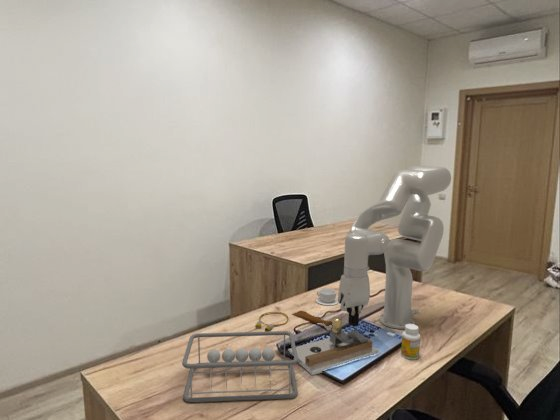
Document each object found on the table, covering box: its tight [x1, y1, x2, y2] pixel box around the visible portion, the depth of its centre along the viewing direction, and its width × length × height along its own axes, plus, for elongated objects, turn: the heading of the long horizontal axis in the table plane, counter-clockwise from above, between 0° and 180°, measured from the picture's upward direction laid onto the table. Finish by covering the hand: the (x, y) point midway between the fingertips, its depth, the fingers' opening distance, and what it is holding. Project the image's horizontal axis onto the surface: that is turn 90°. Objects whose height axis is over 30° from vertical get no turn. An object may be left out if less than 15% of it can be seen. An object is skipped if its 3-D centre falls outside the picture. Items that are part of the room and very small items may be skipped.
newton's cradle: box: [181, 330, 299, 403], centre depth 111 cm, size 30×10×18 cm
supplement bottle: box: [400, 323, 421, 360], centre depth 126 cm, size 5×5×10 cm
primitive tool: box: [291, 310, 333, 326], centre depth 151 cm, size 19×6×4 cm, turn 41°
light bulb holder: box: [329, 316, 353, 345], centre depth 127 cm, size 3×8×8 cm, turn 29°
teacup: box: [315, 287, 339, 306], centre depth 170 cm, size 10×10×5 cm
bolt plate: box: [287, 330, 380, 376], centre depth 127 cm, size 25×14×4 cm, turn 119°
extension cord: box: [255, 311, 289, 332], centre depth 150 cm, size 12×16×2 cm
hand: (353, 324), depth 133 cm, fingers closed
